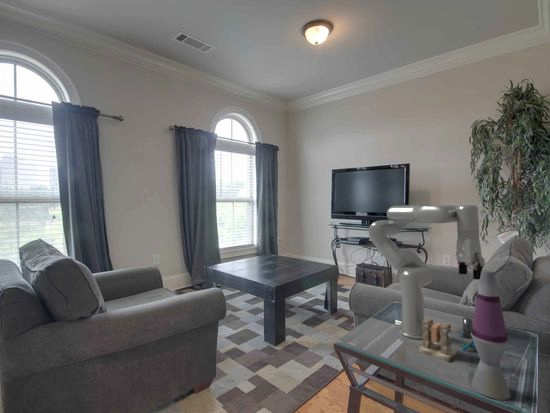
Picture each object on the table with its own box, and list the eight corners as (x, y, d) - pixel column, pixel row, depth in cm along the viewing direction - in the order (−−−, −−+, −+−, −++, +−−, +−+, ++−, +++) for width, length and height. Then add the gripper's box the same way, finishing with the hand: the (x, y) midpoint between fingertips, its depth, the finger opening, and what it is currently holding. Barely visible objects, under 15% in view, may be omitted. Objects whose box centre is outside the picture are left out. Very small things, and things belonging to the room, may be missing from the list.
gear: (487, 355, 117) (465, 333, 121) (475, 364, 118) (454, 342, 122) (481, 346, 127) (461, 327, 131) (470, 355, 128) (450, 335, 132)
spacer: (431, 341, 122) (431, 326, 122) (437, 336, 126) (436, 322, 126) (436, 343, 120) (436, 327, 120) (442, 338, 124) (441, 323, 124)
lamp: (516, 392, 96) (513, 271, 96) (502, 404, 90) (499, 276, 90) (479, 376, 105) (477, 266, 105) (465, 386, 99) (462, 270, 100)
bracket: (417, 351, 124) (416, 322, 124) (426, 343, 131) (426, 315, 131) (448, 362, 115) (447, 330, 115) (457, 353, 122) (456, 323, 122)
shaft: (421, 331, 126) (421, 309, 126) (424, 328, 128) (424, 307, 128) (471, 345, 112) (471, 321, 112) (474, 343, 114) (473, 319, 114)
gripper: (447, 233, 129) (449, 272, 128) (472, 236, 111) (474, 281, 111) (464, 233, 128) (466, 272, 128) (492, 236, 111) (494, 281, 111)
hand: (470, 276), depth 119 cm, fingers open, 9 cm apart
